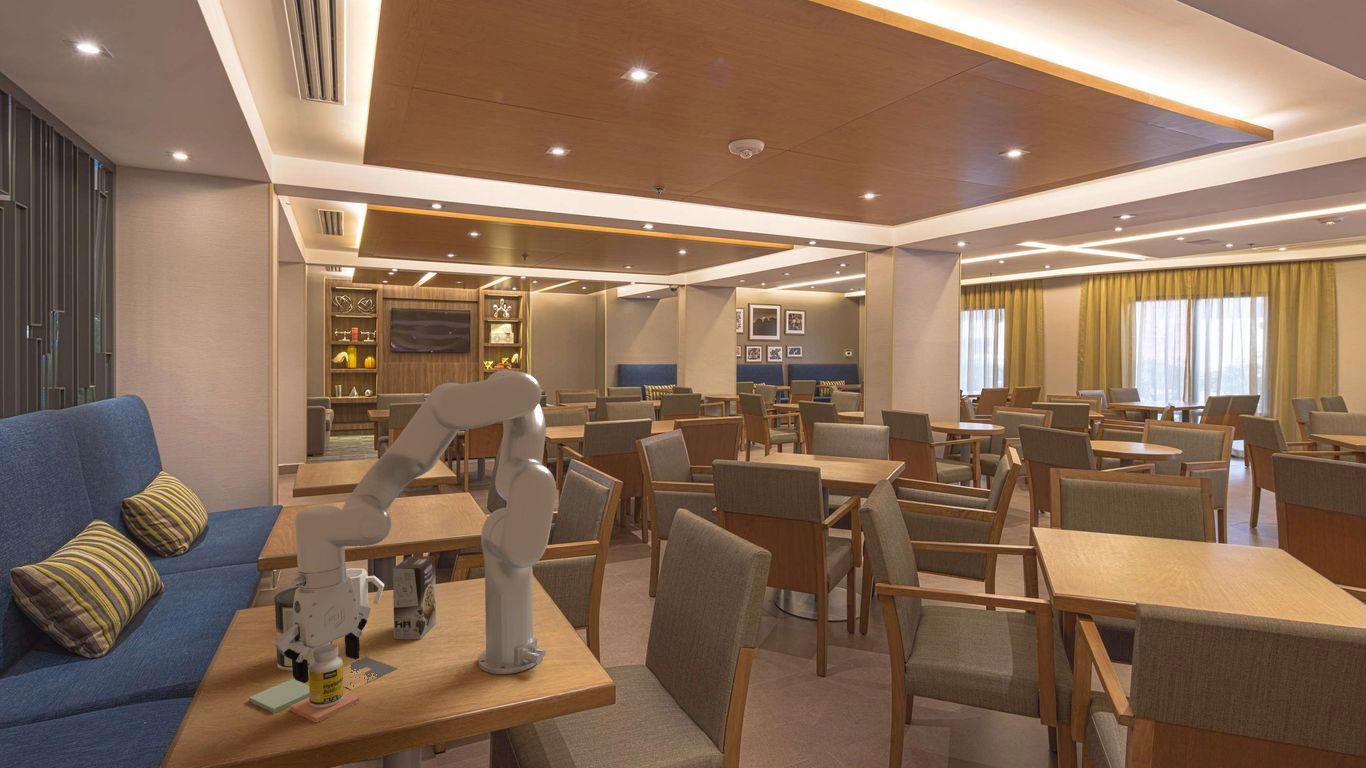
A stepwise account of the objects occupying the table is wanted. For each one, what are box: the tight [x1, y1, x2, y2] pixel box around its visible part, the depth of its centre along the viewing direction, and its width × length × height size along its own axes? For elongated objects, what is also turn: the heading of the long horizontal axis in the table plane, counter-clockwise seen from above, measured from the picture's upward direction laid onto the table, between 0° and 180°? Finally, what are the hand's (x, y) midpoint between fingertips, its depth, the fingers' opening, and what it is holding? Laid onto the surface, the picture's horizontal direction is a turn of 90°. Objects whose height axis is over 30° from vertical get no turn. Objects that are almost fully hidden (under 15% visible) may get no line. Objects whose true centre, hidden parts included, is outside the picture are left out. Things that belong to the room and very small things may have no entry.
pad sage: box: [248, 678, 310, 714], centre depth 127 cm, size 8×8×1 cm
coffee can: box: [273, 586, 333, 672], centre depth 141 cm, size 10×10×14 cm
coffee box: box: [392, 555, 437, 640], centre depth 155 cm, size 9×6×16 cm
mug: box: [346, 567, 385, 616], centre depth 166 cm, size 12×9×10 cm
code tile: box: [350, 656, 399, 687], centre depth 136 cm, size 10×10×1 cm
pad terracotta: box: [289, 690, 360, 723], centre depth 123 cm, size 8×8×1 cm
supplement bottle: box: [308, 643, 344, 708], centre depth 123 cm, size 5×5×10 cm
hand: (327, 668), depth 123 cm, fingers open, 9 cm apart
